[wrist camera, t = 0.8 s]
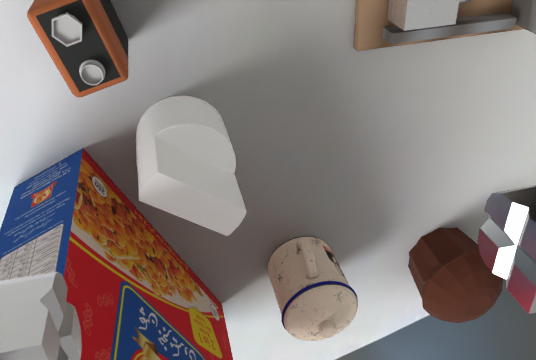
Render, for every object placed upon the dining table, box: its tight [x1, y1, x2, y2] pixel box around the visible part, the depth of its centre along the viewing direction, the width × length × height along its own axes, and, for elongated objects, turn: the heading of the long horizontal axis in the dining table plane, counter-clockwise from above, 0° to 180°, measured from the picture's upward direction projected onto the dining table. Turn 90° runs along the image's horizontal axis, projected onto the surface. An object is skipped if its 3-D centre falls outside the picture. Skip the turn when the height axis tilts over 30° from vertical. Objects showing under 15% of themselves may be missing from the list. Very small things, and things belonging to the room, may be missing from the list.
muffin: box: [408, 228, 503, 323], centre depth 65 cm, size 12×11×10 cm
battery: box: [27, 0, 128, 97], centre depth 38 cm, size 4×7×10 cm, turn 16°
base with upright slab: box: [136, 95, 247, 236], centre depth 45 cm, size 9×9×12 cm
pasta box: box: [0, 148, 233, 360], centre depth 46 cm, size 28×8×28 cm, turn 26°
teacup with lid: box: [268, 237, 358, 341], centre depth 58 cm, size 12×9×12 cm
